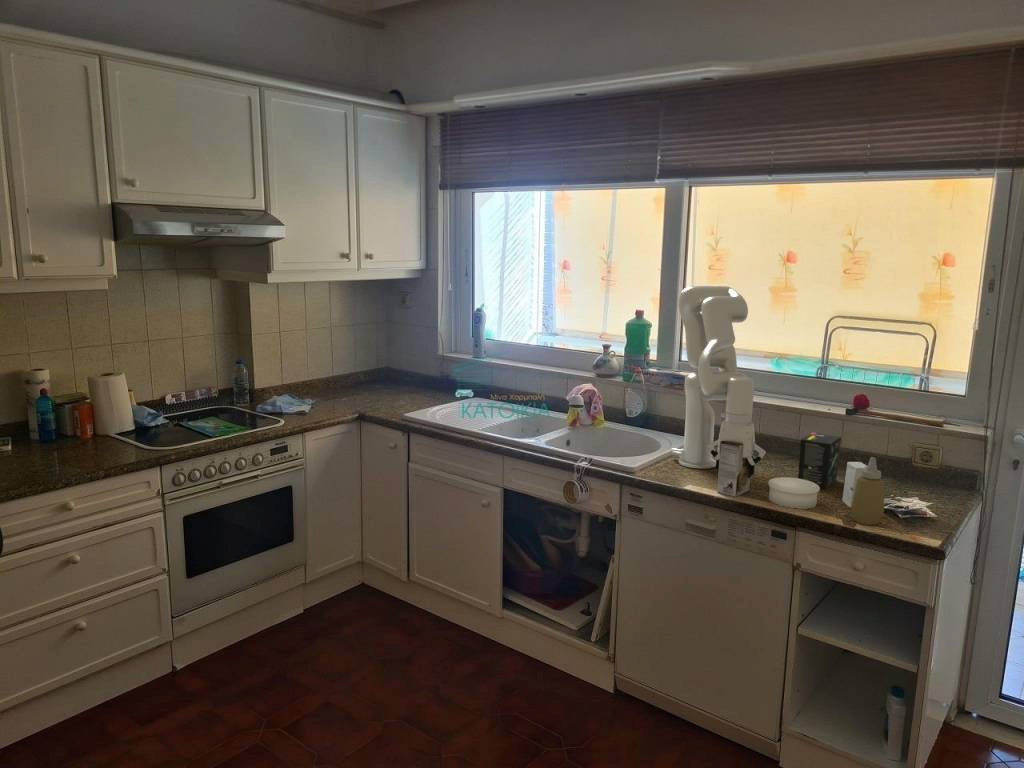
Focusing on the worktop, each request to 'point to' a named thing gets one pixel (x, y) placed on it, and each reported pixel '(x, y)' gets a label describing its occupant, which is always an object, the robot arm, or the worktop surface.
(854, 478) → the skincare box
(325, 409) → the worktop surface
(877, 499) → the squeeze bottle
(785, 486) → the podium
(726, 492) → the coffee box
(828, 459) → the tampon box
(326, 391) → the worktop surface
